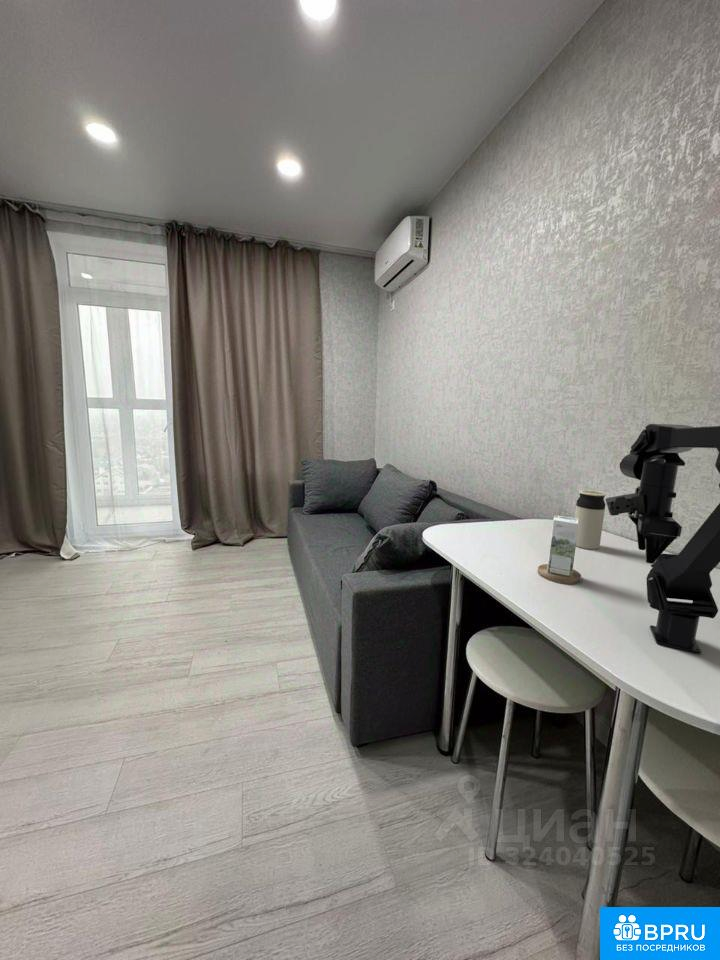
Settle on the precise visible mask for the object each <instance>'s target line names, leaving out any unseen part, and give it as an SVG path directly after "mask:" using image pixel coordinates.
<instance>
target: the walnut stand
mask: <svg viewBox="0 0 720 960" xmlns="http://www.w3.org/2000/svg"><path fill="white" fill-rule="evenodd" d="M547 570H548V563H546V564H541V565H539V566H538V567H537V574H538V575H539V576H540V577H542V578H543V579H545V580H547V581H550V582H553V583H557V584H565V585H575V584H579V583H580V582H581V579H582V574H581V573H580V572H579V571H577V570H576V569H574V568H573V571H572V577H567V576H562V575H557V574H552V573H548V572H547Z"/></svg>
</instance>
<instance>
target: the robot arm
mask: <svg viewBox="0 0 720 960" xmlns="http://www.w3.org/2000/svg"><path fill="white" fill-rule="evenodd" d="M695 448H696V449H716V450H717V452H718V453H717V457H716V461H715V465H714V466H715V468H716V470H717V471H718V473H719V474H720V425H713V426H711V425H710V426H696V427H695V426H691V425H685V424H674V423H673V424H671V423H670V424H669V423H668V424H667V423H664V424H663V423H649V424H648V425H646V426H645V427H644V429H643V430H642V431H641V432H640V434H639V435H638V437H637V439H636V440H635V441H634V442H633V444H632V445H631V446H630V451H629V453H627V454H626V455H625V456H624V457H623V458H622V459H621V461H620V462H619V470H620V472H621V474H623V475H624V476H625V477H629V478H632V479H635V480H638V481H640V483H639V486H638V485H637V487H636V488H635V491H634V493H627V494H622V495H615V496H612V497H611V496H610V497H606V498H604V501H605V505H606V506H607V510H608V513H609V515H610V516H612V517H613V516H619V514H620V515H621V514H626V513H627V514H628V515H627V516H628V518H629V519H630V520H631V522H632V523H634V524H635V530H636V531H635V532H636V538H637V548H638V550H639V551H640V550H641V551H645V562H646V563H647V564H651V565H650V567H651V568H650V571H649V572H648V574H647V576H646V578H645V579H646V595H647V603H648V604H649V607H650V608H651V609H654V610H657V611H658V614H657V620H656V625H652V624H651V625H649V629H650V632H651V634H652V636H653V638H654V641H655V643H657V645H662V646H664V647H665V646H666V647H671V648H674V649H678V650H683V651H686V652H690V653H695V654H699V655H700V654H702V649H701V648H700V647H699V646H700V645H699V644H698V643H697V641H696V638H697V632H698V628H699V627H698V626H699V621H700V618H710V619H715V617H716V616H717V614H718V612H719V608H718V606H717V603H716V601H715V598H714V597H713V593H712V590H711V588H712V587H713V581H712V578H711V572H712V571H713V570H714V569H715V568H716V567H717V566H718V565H719V564H720V502H719V503H718V504H717V505H716V507H715V508H714V510H712V512H711V513H710V514H709V516H708V517H707V518H706V519H705V521H704V522H703V523H702V525H701V526H700V527H699V528H698V529H697V531H696V532H695V533H694V535H692V537H691V538H690V539H689V541H687V543H686V544H685V545H684V547H683V548H682V549H681V550H680V552H679V553H678V554H675V553H664V551H666V549H667V548H668V547H669V546H670V545H671V544H672V543H673V542H674V541H675V540H677V539H678V538H680V537H681V534H682V529H683V527H682V526H681V525H680V523H678V522H677V520H675V518H674V517H673V515H674V513H673V512H672V504H673V499H676V497H677V492H676V491H675V488H676V487H675V486H676V480H677V475H678V469H679V467H685V466H686V462H685V460H683V459H682V457H680V455H679V454H681V453H682V454H683V453H686V452H690V451H691V450H693V449H695ZM718 487H719V489H720V482H719V484H718ZM669 599H670V600H669ZM673 599H675V600H676V601H675V600H673ZM677 600H684V601H677ZM687 601H692V602H687Z"/></svg>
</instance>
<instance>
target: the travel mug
mask: <svg viewBox="0 0 720 960" xmlns="http://www.w3.org/2000/svg"><path fill="white" fill-rule="evenodd" d="M578 493H579V497H578V498H577V500H576V506H575V512H574V518H578V523H579V528H578V535H577V542H576V548H581V549H585V550H597V549H600V545H601V539H602V533H603V532H602V531H603V527H604V526H603V525H604V518H605V517H604V516H605V510H606V501H605V497H606V495H607V493H605V492H602V491H599V490H598V491H597V490H589V489H582V490H579V491H578Z"/></svg>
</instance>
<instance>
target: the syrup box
mask: <svg viewBox="0 0 720 960" xmlns="http://www.w3.org/2000/svg"><path fill="white" fill-rule="evenodd" d="M578 528H579V523H578V518H575V517H570V516H561V515H556V514H554V515H553V521H552V529H551V535H550V544H549V545H550V546H549V553H548V561H547V564H548V570H547V572H548V573H552V574H557V575H562V576H567V577H572V571H573V569H574V563H575V555H576V549H577V546H576V542H577V535H578Z"/></svg>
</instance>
